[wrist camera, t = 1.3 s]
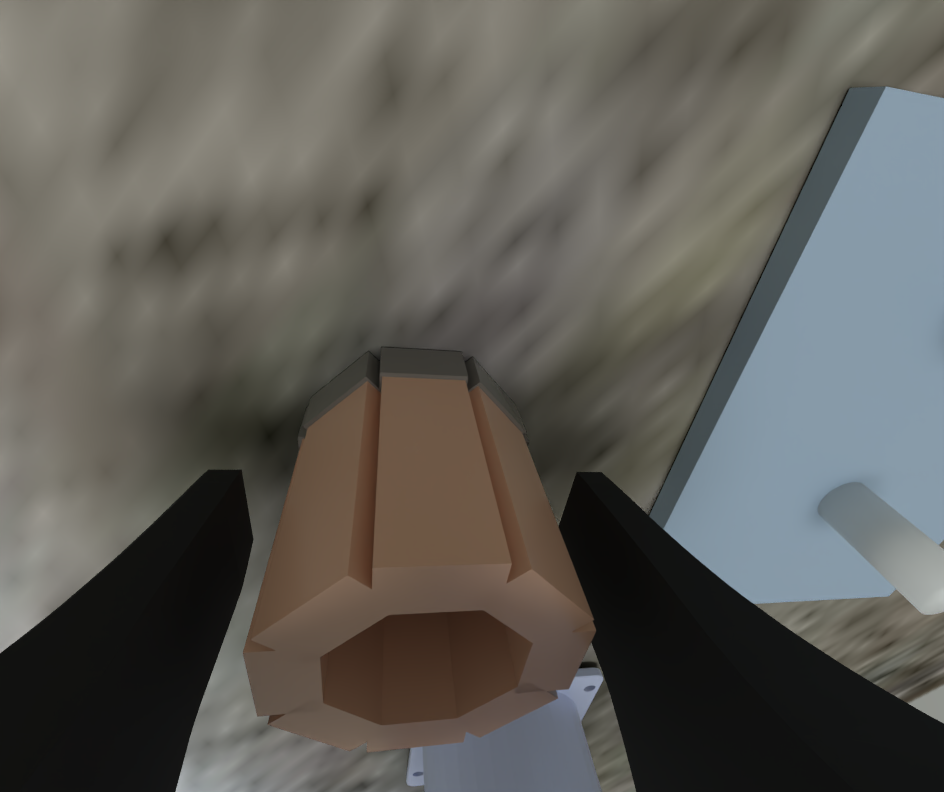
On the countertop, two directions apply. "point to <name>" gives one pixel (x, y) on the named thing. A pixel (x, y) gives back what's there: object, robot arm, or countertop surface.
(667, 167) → the countertop surface
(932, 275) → the pin board
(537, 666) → the sleeve
